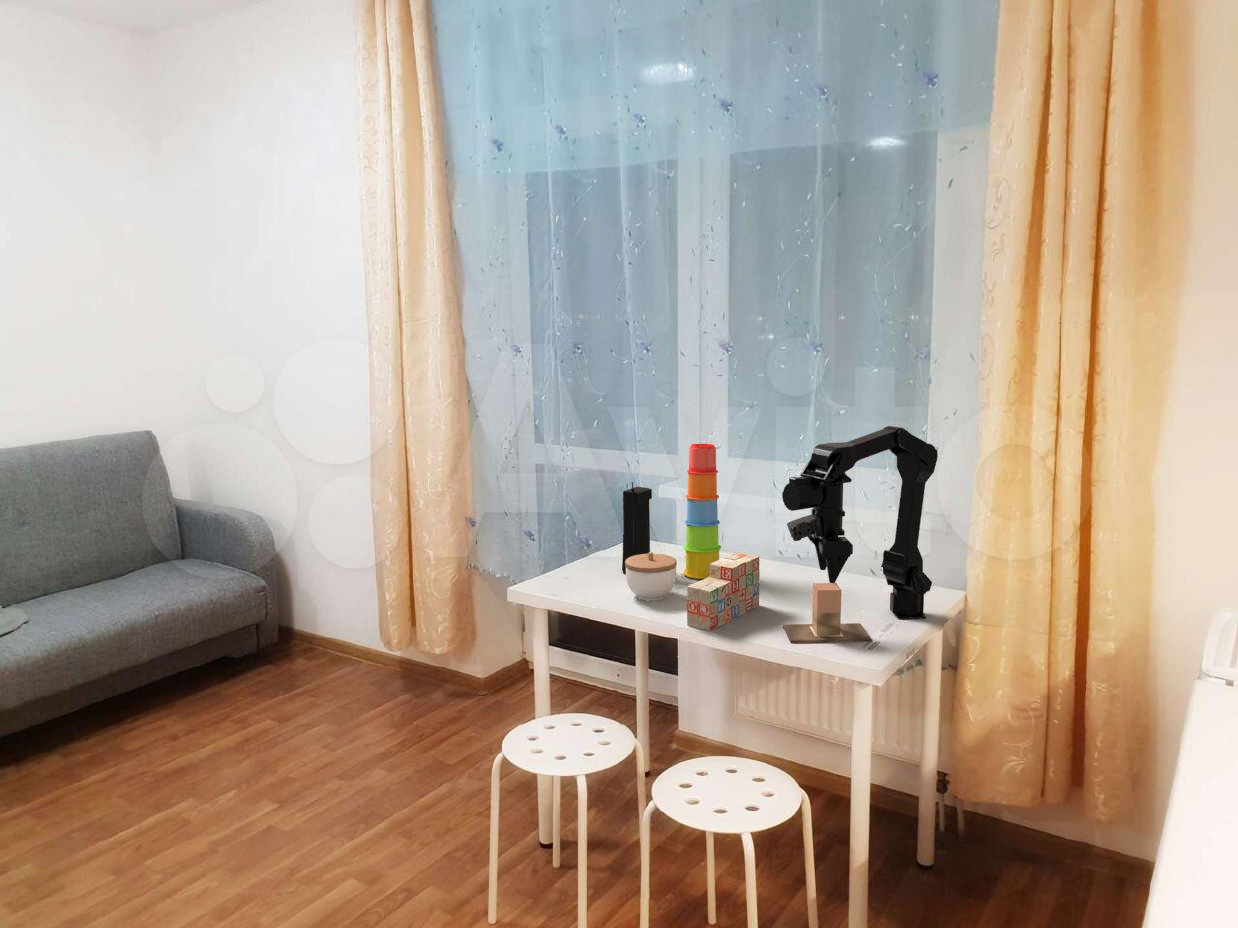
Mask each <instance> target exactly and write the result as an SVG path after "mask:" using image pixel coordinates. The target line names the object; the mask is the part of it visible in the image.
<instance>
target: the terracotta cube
mask: <svg viewBox="0 0 1238 928" xmlns="http://www.w3.org/2000/svg"><path fill="white" fill-rule="evenodd" d="M812 605H813V607H814V608H815V610H816V612H817V613H841V614H842V589H841V588H840V585H838V583H837V582H835V583H830V582H812Z"/></svg>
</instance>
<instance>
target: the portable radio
mask: <svg viewBox="0 0 1238 928" xmlns="http://www.w3.org/2000/svg"><path fill="white" fill-rule="evenodd" d="M630 483H631V488H629V489H626V490H623V492H622V520H623V523H622V524H623V525H622V527H623V532H622V533H623V534H622V563H621V565H622V566H621V571H622V573H623V574H625V575H626V566H625V560H626V559H627V558H629V557H631V556H635V555H640V554H648V553H649V552H651V535H650V534H651V531H650V530H651V528H650V527H651V526H650V525H651V524H650V518H651V517H650V513H651V512H650V500H652V499H653V489H652V488H649V487H644V486H643V487H642V486H636V487H634V482H632V481H631V482H630Z"/></svg>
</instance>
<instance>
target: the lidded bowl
mask: <svg viewBox="0 0 1238 928" xmlns="http://www.w3.org/2000/svg"><path fill="white" fill-rule="evenodd" d="M677 563H678V562H677V559H676V558H675V557H673V556H671V555H669V554H663V553H654V552H653V551H650V552H649V553H648V554H640V555H635V556H631V557H629V558H627V559H626V560H625V566H626V574H625V577H626V583H627V585H628V587H629V589H630V591H631V592H632V593H633V594H634V595H635V596H636V598H637V599H638V600H642V601H647V602H648V601H650V602H653V601H660V600H663V599H665V598H666V597H667V595H668V594H669V593H670V592H671V591H672V589H673V588H674V584H675V582H676V579H677V578H676V577H677Z"/></svg>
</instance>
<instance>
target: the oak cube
mask: <svg viewBox="0 0 1238 928" xmlns="http://www.w3.org/2000/svg"><path fill="white" fill-rule="evenodd" d="M811 610H812V613H811V615H812V616H811V617H812V618H811V624H812V628H813V630H814V631H815V633H816V635H840V626H841V624H842V623H841V622H842V620H841V617H842V612H841V613H817V612H816V610H815V608H814V607H813V604H812V609H811Z"/></svg>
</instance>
